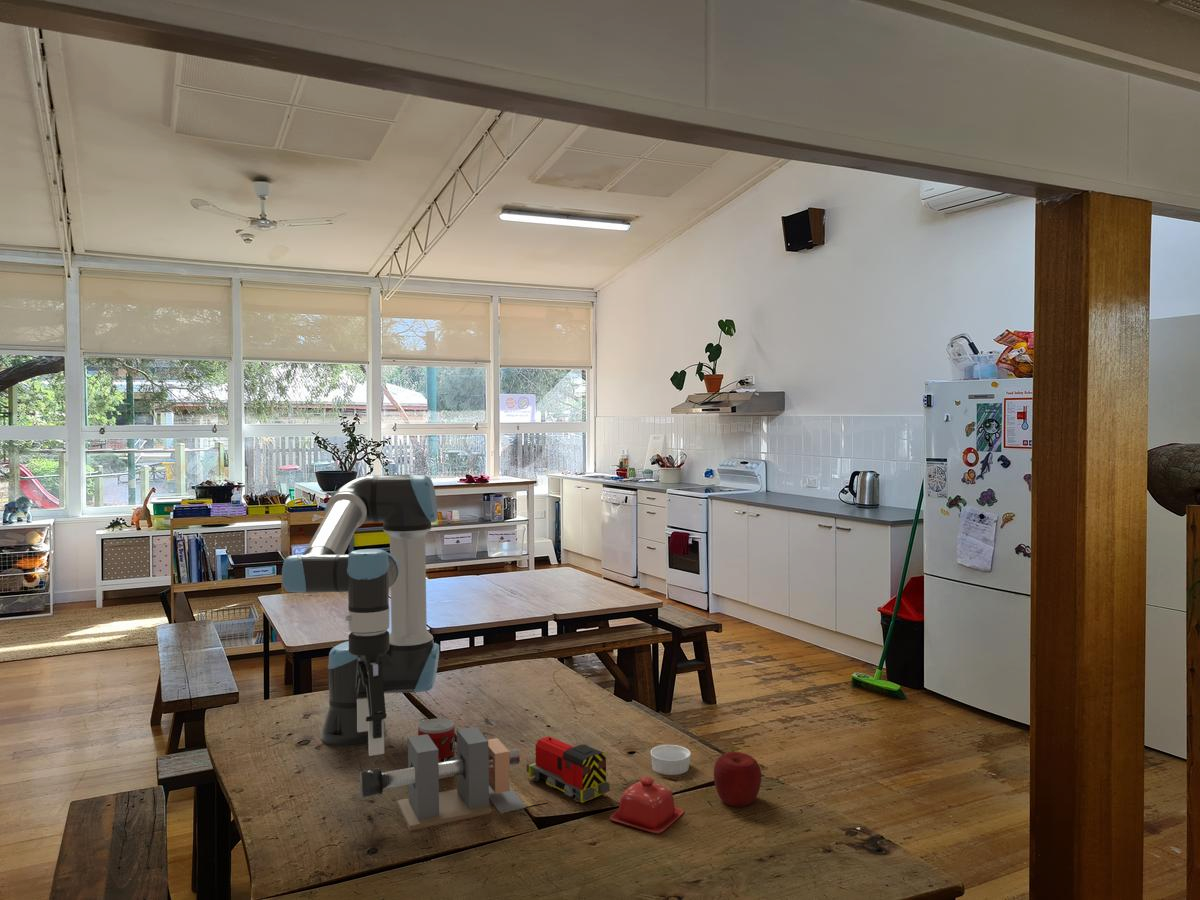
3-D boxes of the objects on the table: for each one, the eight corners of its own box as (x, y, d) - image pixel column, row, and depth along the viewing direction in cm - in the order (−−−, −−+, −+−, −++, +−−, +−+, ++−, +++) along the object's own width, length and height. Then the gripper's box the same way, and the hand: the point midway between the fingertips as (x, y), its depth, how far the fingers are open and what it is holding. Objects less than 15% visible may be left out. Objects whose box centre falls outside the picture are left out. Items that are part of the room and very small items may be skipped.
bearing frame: (409, 831, 157) (408, 757, 157) (397, 805, 168) (396, 736, 168) (491, 814, 164) (490, 743, 164) (474, 790, 175) (473, 724, 174)
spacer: (483, 778, 174) (483, 740, 173) (497, 775, 175) (497, 738, 175) (495, 793, 166) (495, 753, 166) (509, 790, 168) (509, 751, 167)
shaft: (363, 801, 157) (363, 776, 157) (359, 791, 162) (359, 767, 161) (521, 772, 170) (521, 749, 170) (513, 763, 175) (513, 741, 174)
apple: (732, 819, 161) (732, 767, 161) (703, 799, 170) (703, 751, 169) (771, 808, 166) (771, 758, 165) (741, 790, 174) (741, 742, 174)
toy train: (585, 810, 166) (585, 760, 165) (526, 781, 180) (525, 735, 179) (610, 800, 170) (610, 751, 170) (550, 771, 184) (550, 727, 184)
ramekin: (698, 770, 184) (698, 751, 184) (674, 783, 178) (673, 763, 178) (667, 760, 190) (667, 741, 190) (642, 772, 184) (642, 752, 184)
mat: (479, 787, 176) (479, 784, 176) (524, 778, 181) (524, 775, 181) (500, 814, 164) (500, 811, 164) (547, 804, 168) (547, 802, 168)
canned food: (447, 782, 179) (446, 731, 179) (412, 779, 181) (411, 729, 180) (460, 768, 187) (459, 719, 186) (426, 765, 188) (426, 717, 188)
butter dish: (687, 816, 163) (686, 773, 163) (659, 841, 153) (659, 795, 153) (636, 802, 169) (635, 761, 169) (606, 825, 160) (605, 781, 159)
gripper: (339, 620, 169) (341, 724, 169) (358, 648, 146) (360, 768, 147) (377, 617, 172) (378, 719, 172) (401, 643, 149) (403, 761, 150)
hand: (370, 742), depth 160 cm, fingers open, 13 cm apart
